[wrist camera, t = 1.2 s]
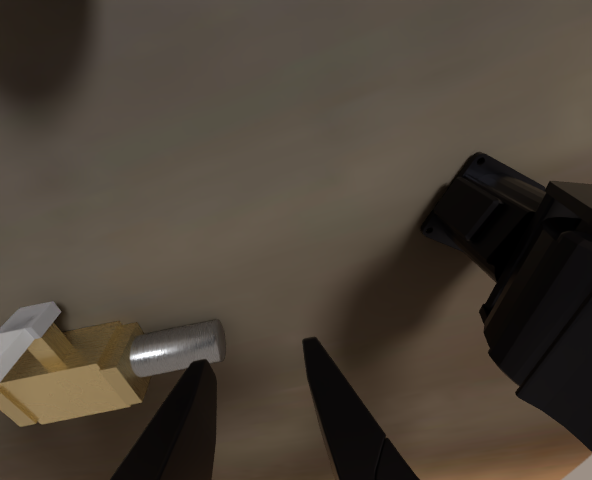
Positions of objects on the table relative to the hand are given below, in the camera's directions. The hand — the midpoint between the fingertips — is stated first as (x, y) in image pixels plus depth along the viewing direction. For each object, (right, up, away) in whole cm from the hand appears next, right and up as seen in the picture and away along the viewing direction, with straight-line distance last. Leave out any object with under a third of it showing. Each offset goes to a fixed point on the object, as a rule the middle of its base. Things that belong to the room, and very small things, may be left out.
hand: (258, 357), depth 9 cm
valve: (-16, -5, +16) cm, 23 cm away
